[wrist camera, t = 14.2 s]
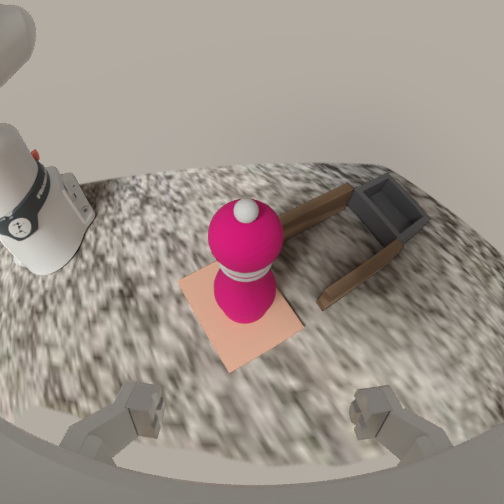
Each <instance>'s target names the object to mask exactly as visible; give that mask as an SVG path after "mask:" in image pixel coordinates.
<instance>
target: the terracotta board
mask: <svg viewBox="0 0 504 504" xmlns="http://www.w3.org/2000/svg"><path fill="white" fill-rule="evenodd" d="M219 269H220V266H219V263H218V261H215V262H213V263H212V264H210V265H208V266H206V267H204V268H202V269H200V270H198V271H196V272H194V273H192V274H190V275H188V276H187V277H185V278H183V279H181V280H179V281H178V283H179V285H180V287H181V289H182V291H183V293H184V295H185V296H186V298H187V300H188V302H189V304H190V306H191V308H192V309H193V311H194V313H195V315H196V317H197V318H198V320H199V322H200V324H201V326H202V327H203V329H204V331H205V333H206V334H207V336H208V338H209V340H210V341H211V343H212V345H213V346H214V348H215V350H216V352H217V353H218V355H219V357H220V358H221V360H222V362H223V363H224V365H225V367H226V368H227V370H228V371H229V373H231V372H232V371H234V370H236V369H238V368H240V367H241V366H243V365H245V364H246V363H248V362H250V361H252V360H253V359H255V358H257V357H258V356H260V355H262V354H263V353H265V352H267V351H268V350H270V349H272V348H273V347H275V346H277V345H278V344H280V343H281V342H283V341H285V340H286V339H288V338H289V337H291V336H293V335H294V334H296V333H297V332H299V331H300V330H302V329H303V328H304V326H303V325H302V323H301V322H300V320H299V319H298V318H297V316H296V315H295V313H294V312H293V310H292V309H291V307H290V306H289V305H288V303H287V302H286V300H285V299H284V297H283V296H282V294H281V293H280V292H279V290H278V289H277V287H276V296H275V299H274V302H273V304H272V305H271V307H270V308H269V309H268V310H267V311H266V313H265V314H264V316H263V317H262V318H260V319H259V320H257V321H255V322H253V323H249V324H241V323H237V322H234V321H232V320H231V319H229V318H228V317H227V316H226V315H225V313H224V312H223V310H222V309H221V308H220V307H219V306H218V304H217V302H216V300H215V297H214V280H215V277H216V274H217V272H218V271H219Z"/></svg>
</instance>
